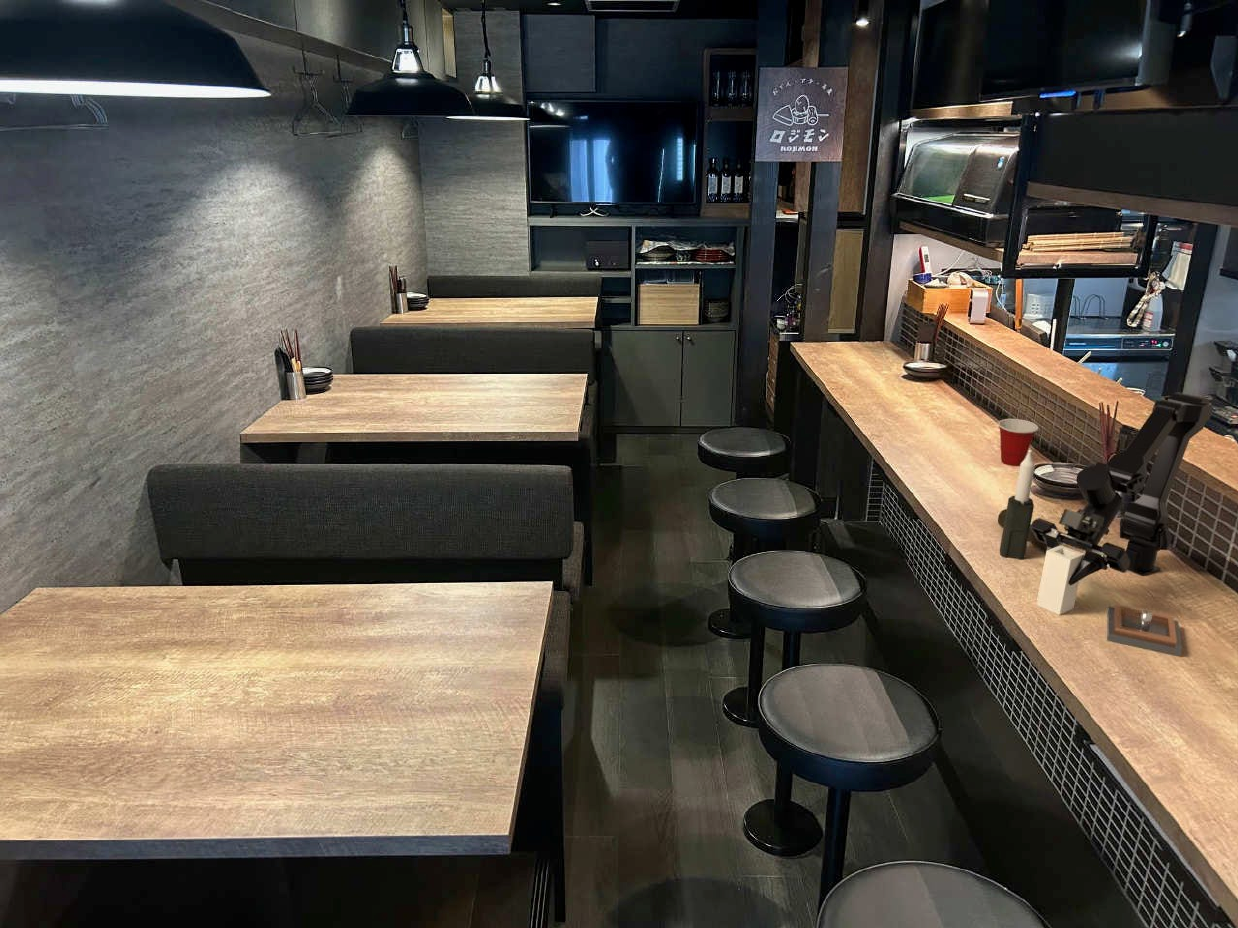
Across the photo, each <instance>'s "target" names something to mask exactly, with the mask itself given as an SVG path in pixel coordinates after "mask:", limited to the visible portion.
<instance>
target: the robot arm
mask: <svg viewBox="0 0 1238 928" xmlns="http://www.w3.org/2000/svg"><path fill="white" fill-rule="evenodd" d="M1151 410H1152V411H1151V413H1150V415H1148V417H1147V418H1146V420H1145V422H1144V423H1143V424H1142V426H1141V427H1140V428H1139V430H1138V432H1137V433H1136V434H1135V436H1134V437H1133V438H1132V440H1131V441H1130V443H1129V444H1128V446H1127V447H1126V448H1125V449H1124V450H1122V451H1119V452H1118V453H1115V454H1113V455H1112V456H1111V457H1110V458H1109V460H1107V461H1106V463H1104V462H1101V461H1096V464H1095V465H1091V466H1090V465H1089V466H1087V467H1084V468H1083V469H1082V470H1080V471H1079V472H1078V473H1077V475H1076V480H1075V481H1076V483H1077V486H1078V488H1079V490H1080V492H1081V494H1082V496H1083V498H1084V500H1085V501H1086V504H1085V506H1084V507H1083V509H1081V508H1079V509H1078V510H1077V511H1073V510H1070V509H1067V508H1064V510H1063V512H1062V514H1061V517H1060V518H1059V521H1058V524H1059V525H1063V530H1064V531H1065V532H1062V531H1060V530H1059V529H1058V528H1057V526H1056V524H1055V523H1053V522H1052V521H1049V520H1046V519H1042V518H1040V517H1039V518H1036V519H1034V520H1033V521H1031V525H1030V529H1031V531H1032V533H1033V534H1034V536H1035V538H1036V539H1037V540H1038V541H1040V542H1043V543H1045V544H1047V550H1050V549H1052V548H1055V547H1057V546H1060V545H1062V546H1063V544H1065V545H1068V546H1070V547H1074V548H1076V549H1079V550H1080V551H1081V550H1082V551H1083V552H1084V554H1085V555H1084V559H1083V560H1082V562H1081V563H1080V565H1079V566H1078V567H1077V569H1076V570H1075V572H1074V573H1073V574H1072V576H1071V578H1070V580H1069V582H1068V583H1069V585H1073V584H1075V583H1076V582H1078V581H1079V582H1080V581H1081V580H1083V579H1085V578H1087V577H1089V576H1090V575H1092V574H1094V573H1096V572H1099V571H1101V570H1104V571H1107V570H1108V566H1109V568H1110V569H1112V570H1115V571H1118V572H1121V573H1123V574H1124V573H1126V572H1127V570H1129V571H1131V572H1133V573H1135V574H1138V575H1140V576H1146V575H1150V574H1154V573H1156V572H1159V571H1161V569H1162V568H1161V567H1160V566H1157V565H1155V563H1156V560H1157V556H1158V552H1160V551H1161V550H1162V551H1167V550H1168V548H1169V546H1170V545H1171V542H1172V538H1173V536H1172V534H1171V532H1170V529H1169V526H1168V524H1169V519H1170V515H1169V512H1168V511H1169V510H1168V507H1167V500H1168V498H1169V495H1170V492H1171V489H1172V487H1173V485H1174V481H1175V479H1176V476H1177V474H1178V472H1179V468H1180V466H1181V464H1182V461H1183V457H1184V455H1185V452H1186V451H1187V450H1186V449H1187V448H1188V445H1189V442H1190V440H1191V438H1193V437H1194V436H1195V435H1197V434H1198V433H1200V432H1201V431H1202V430H1203V429H1204V428H1205V426H1206V423H1207V421H1209V420H1210V418H1211V417H1212V414H1213V410H1214V407H1213V405H1212V404H1210V400H1209V399H1208V398H1207V397H1206V398H1205V397H1202V396H1196V395H1192V394H1188V393H1185V392H1178V391H1177V392H1174V393H1173V394H1171V395H1166V396H1161V397H1160V399H1158V400H1156V402H1155V403H1154V404H1153V407H1152V409H1151ZM1155 454H1156V456H1155V458H1154V461H1153V464H1152V467H1151V469H1150V471H1149V474H1148V470H1147V469H1148V468H1147V467H1148V464H1149V462H1150V461H1151V460H1152V458H1153V457H1154V455H1155ZM1146 479H1147V480H1146ZM1142 489H1143V490H1142ZM1140 491H1142V493H1141V495H1140V497H1138V498H1137V499H1135V500H1134V501H1129V503H1127V506H1126V509H1125V505H1124V504H1125V503H1124V498H1123V497H1122V496H1121V495H1120V494H1119V493H1122V494H1125V495H1128V496H1131V495H1134V496H1135V495H1136V494H1137V493H1138V492H1140ZM1124 510H1125V512H1124ZM1119 512H1124V513H1123V514H1122V515H1121V518H1120V520H1119V538H1120V539H1124V540H1126V541H1127V540H1128V541H1127V545H1126V549H1125V548H1124V547H1121V546H1119V545H1117V544H1113V543H1110V542H1104V543H1103V545H1102V546H1100V545H1099V543H1100V541H1101V540H1102V538H1103V537H1104V536H1108V534H1109V533H1110V529H1109V527H1110V526H1111V524H1112V522H1113V521H1114V519H1116V517H1117V515H1118V513H1119ZM1066 532H1067V533H1066Z"/></svg>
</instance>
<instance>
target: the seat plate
mask: <svg viewBox="0 0 1238 928" xmlns="http://www.w3.org/2000/svg"><path fill="white" fill-rule="evenodd" d="M1106 613H1107V615H1106V617H1107V618H1106V623H1107V624H1106V629H1107V630H1106V641H1107V642H1108V641H1109V642H1113V643H1116V644H1117V643H1118V644H1122V645H1126V646H1131V647H1135V648H1139V649H1144V650H1148V651H1153V652H1157V653H1162V654H1166V655H1170V654H1171V656H1176V657H1178V658H1179V657H1180V658H1181V654H1182V652H1183V645H1182V639H1181V632H1180V624H1179V620H1176V619H1175V616H1174V617H1173V616H1169V615H1163V614H1160V613H1154V612H1151V611H1149V610H1148V611H1147V610H1139V609H1135V608H1130V607H1124V606H1121V605H1115V607H1113V606H1108V608H1107V612H1106Z"/></svg>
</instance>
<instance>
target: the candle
mask: <svg viewBox="0 0 1238 928" xmlns="http://www.w3.org/2000/svg"><path fill="white" fill-rule="evenodd" d="M1035 468H1036V465H1035V462H1034V461H1033V450H1032V449H1028V452H1027V454H1026V456H1025V459H1024V461H1022V463H1021V465H1020V466H1019V471H1018V476H1017V477H1018V478H1017V482H1016V489H1015V495H1011V496H1010V497H1008V499H1007V500H1008V501H1007V505H1006V509H1007V510H1006V516H1005V522H1004V527H1003V529H1002V532H1001V533H1002V534H1001V540H1000V546H999V555H1000V556H1001V557H1003V558H1009V559H1017V560H1021V561H1022V560H1024V559H1025V556H1026V552H1027V546H1028V542H1029V541H1028V536H1029V530H1030V525H1031V524H1032V518H1033V514H1034V507H1035V504H1034V500H1033V499H1032V498H1030V496H1031V495H1030V494H1031V491H1032V485H1033V484H1032V483H1033V479H1034V473H1035Z"/></svg>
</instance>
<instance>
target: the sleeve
mask: <svg viewBox="0 0 1238 928" xmlns="http://www.w3.org/2000/svg"><path fill="white" fill-rule="evenodd" d="M1084 556H1085V553H1082V552H1081V551H1077V550H1075V549H1072V548H1069V547H1067V546H1064V545H1063V544H1062V545H1060V546H1057V547H1055V548H1052V549H1050V550H1047V551H1045V558H1044V562H1043V568H1042V572H1041V573H1042V574H1041V577H1040V578H1041V579H1040V583H1039V589H1038V592H1037V593H1038V595H1037V599H1036V604H1035V605H1036V606H1038V607H1040V608H1043V609H1044V610H1047V611H1049V612H1052V613H1054V614H1056V615H1058V616H1060V615H1062V614H1065V613H1068V611H1069V612H1070V611H1071V610H1074V607H1075V603H1076V602H1075V601H1076V598H1077V592H1078V587H1079V583H1080V581H1078V582H1076V583H1075V584H1073V585H1069V583H1068V582H1069V580H1070V578H1071V576H1072V574H1073V573H1074V572H1075V570H1076V569H1077V567H1078V566H1079V565H1080V563H1081V562H1082V560H1083V559H1084Z"/></svg>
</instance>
